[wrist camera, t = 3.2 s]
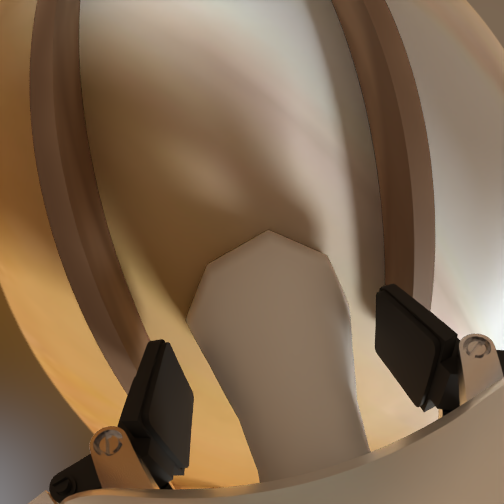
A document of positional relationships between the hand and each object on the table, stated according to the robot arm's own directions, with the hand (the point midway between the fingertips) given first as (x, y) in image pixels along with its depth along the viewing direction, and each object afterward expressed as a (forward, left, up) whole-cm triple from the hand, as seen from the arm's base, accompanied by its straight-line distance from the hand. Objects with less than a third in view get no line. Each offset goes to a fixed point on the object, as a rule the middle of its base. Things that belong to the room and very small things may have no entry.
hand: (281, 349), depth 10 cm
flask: (0, 0, -3) cm, 3 cm away
